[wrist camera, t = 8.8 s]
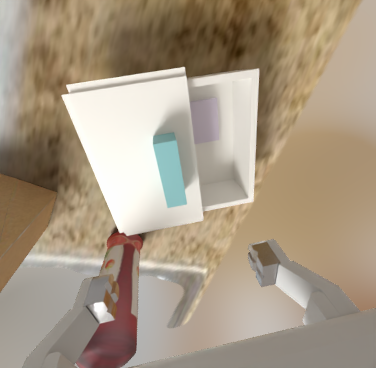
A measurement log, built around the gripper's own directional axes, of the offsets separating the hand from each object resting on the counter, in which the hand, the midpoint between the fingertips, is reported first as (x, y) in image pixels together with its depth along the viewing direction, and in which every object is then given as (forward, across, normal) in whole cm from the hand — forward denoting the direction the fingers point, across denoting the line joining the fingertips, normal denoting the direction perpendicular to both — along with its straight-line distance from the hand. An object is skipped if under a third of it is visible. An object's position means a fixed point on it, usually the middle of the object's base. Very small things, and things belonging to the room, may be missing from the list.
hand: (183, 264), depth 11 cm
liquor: (+23, +12, +18) cm, 32 cm away
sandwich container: (+23, +28, +4) cm, 37 cm away
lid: (+17, +3, 0) cm, 18 cm away
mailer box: (+23, -6, 0) cm, 24 cm away
